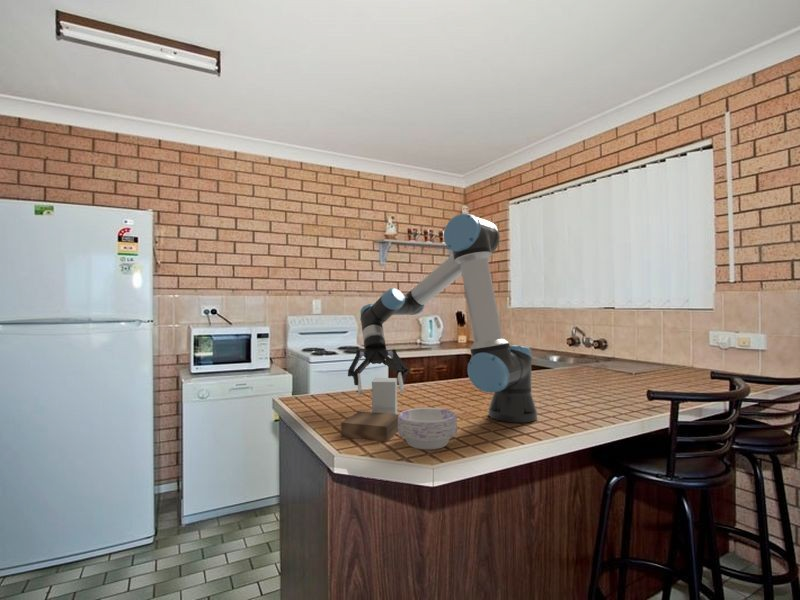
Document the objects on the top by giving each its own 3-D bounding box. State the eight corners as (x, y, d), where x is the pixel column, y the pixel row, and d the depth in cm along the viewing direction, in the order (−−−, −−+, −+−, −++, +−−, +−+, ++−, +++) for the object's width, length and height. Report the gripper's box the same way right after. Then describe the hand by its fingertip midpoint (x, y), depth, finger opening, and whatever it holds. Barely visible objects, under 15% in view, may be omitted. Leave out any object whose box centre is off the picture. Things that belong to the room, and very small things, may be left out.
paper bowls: (391, 438, 115) (391, 408, 115) (443, 433, 119) (443, 405, 119) (407, 457, 100) (407, 423, 101) (466, 451, 105) (466, 419, 105)
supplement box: (397, 417, 137) (398, 377, 137) (395, 423, 129) (395, 381, 129) (375, 416, 137) (375, 377, 138) (371, 422, 130) (371, 381, 130)
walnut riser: (401, 428, 124) (401, 414, 124) (386, 442, 111) (386, 426, 112) (359, 424, 128) (359, 411, 128) (341, 437, 115) (341, 422, 115)
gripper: (406, 347, 156) (417, 397, 141) (337, 348, 150) (341, 400, 135) (410, 333, 151) (421, 383, 136) (339, 334, 145) (342, 386, 130)
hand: (381, 392), depth 136 cm, fingers open, 13 cm apart
